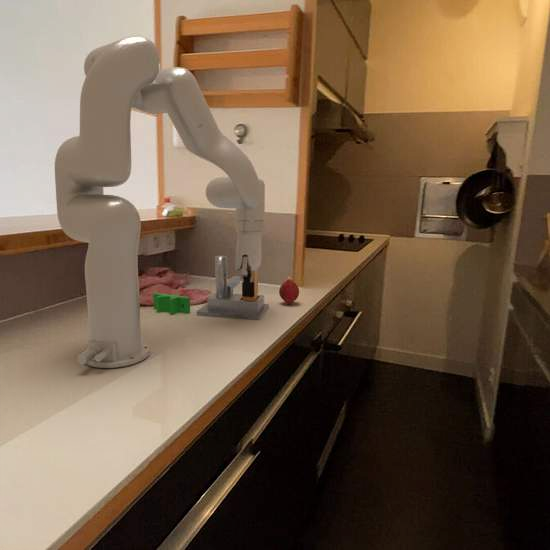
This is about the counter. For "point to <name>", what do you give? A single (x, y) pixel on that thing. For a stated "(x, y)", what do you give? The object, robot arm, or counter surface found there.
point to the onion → (289, 291)
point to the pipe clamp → (171, 303)
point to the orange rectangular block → (255, 280)
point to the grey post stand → (230, 297)
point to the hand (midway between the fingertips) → (250, 294)
